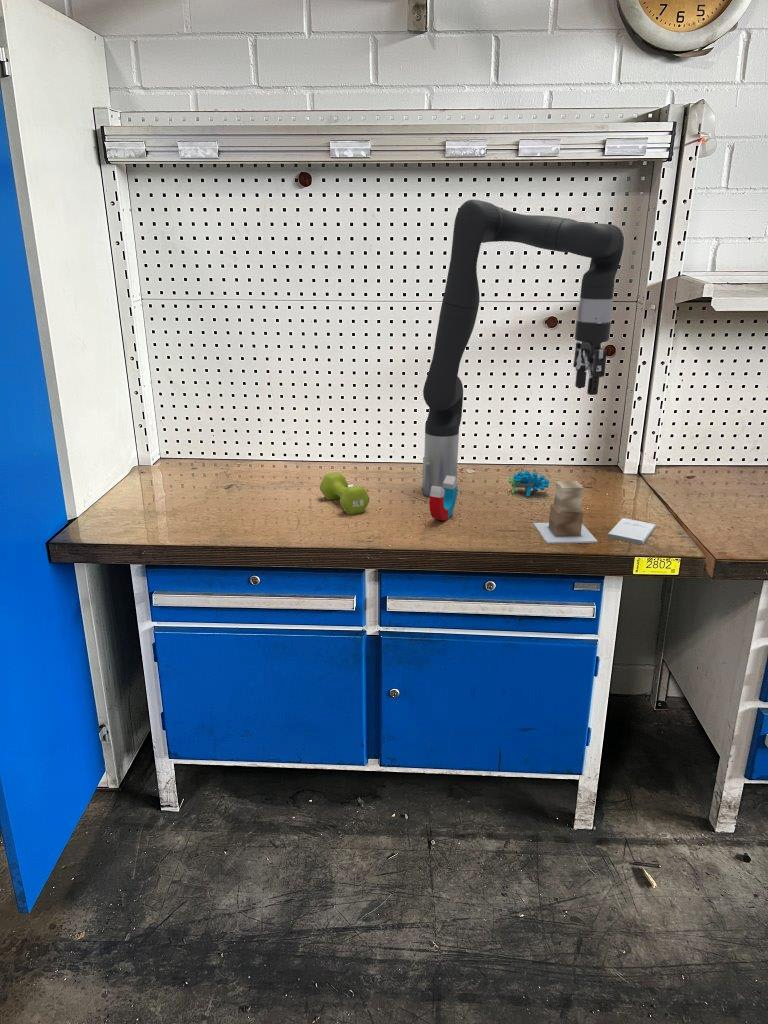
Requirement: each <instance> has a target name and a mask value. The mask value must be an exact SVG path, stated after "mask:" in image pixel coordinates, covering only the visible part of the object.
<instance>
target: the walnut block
mask: <svg viewBox="0 0 768 1024" xmlns="http://www.w3.org/2000/svg"><path fill="white" fill-rule="evenodd" d="M583 517H584V511H583V510H581V512H559V511H558V509H557V508H556V507H555V506H554V503H551V504H550V508H549V520H548V523H549V528H550V530H551V531H552V532H553V534H554V535H555V536H556V537H558V536H581V528H582V524H583Z"/></svg>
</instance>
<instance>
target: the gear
mask: <svg viewBox="0 0 768 1024" xmlns="http://www.w3.org/2000/svg"><path fill="white" fill-rule="evenodd" d="M538 474H539V473H538V472H536V471H533V472H532V474H531V473H530V471H529V470H524V471H523V472H522V471H518V472H517V473H515V474H514V475H513V477H512V476H511V477H509V481H508V482H509V483H510V484H511V487H512V489H511V494H512V495H514V494H515V491H516V488H518V489H519V488H520V489H521V488H523V489H525V490H526V495H525V497H526V498H530V495H531V492H532V490H533V491H535V492H537V491H538V490H540V491H544V490H545V488H546V489H547V488H549V484H550V479H548V478H546V476H545V475H544V474H543V475H542V474H541V475H540V476H539V477H538Z"/></svg>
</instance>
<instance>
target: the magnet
mask: <svg viewBox="0 0 768 1024" xmlns="http://www.w3.org/2000/svg"><path fill="white" fill-rule="evenodd" d="M443 485H444V489H443V488H442V487H437V486H432V487H431V491H430V496H429V500H428V501H429V503H428V504H429V505H428V506H429V507H428V508H429V512H430V517H432V518H433V520H439V521H443V522H444V521H447V520H448V519H449V518H450V517H451V516H452V513H453V511H454V508H455V506H456V502H457V496H458V495H457V494H458V477H457V478H456V477H454V476H448V475H447V476H446V478H445V480H444V482H443Z"/></svg>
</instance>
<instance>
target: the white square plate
mask: <svg viewBox="0 0 768 1024" xmlns="http://www.w3.org/2000/svg"><path fill="white" fill-rule="evenodd" d="M532 525H533V526H534V528H535V529H536V530H537V532H538V534H540V536H541V537H542V539H543V540H544V542H545V543H546V544H547V545H549V544H590V543H591V544H593V543H595V544H597V543H598V541H599V540H597V539H596V537H594V535H593V534H592V533H591V532H590V530H588V528H587V527H586V526H585V525H584V523H582V528H581V536H558V537H556V536H555V535H554V534H553V532H552V531H551V530H550V528H549V522H533V523H532Z"/></svg>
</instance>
